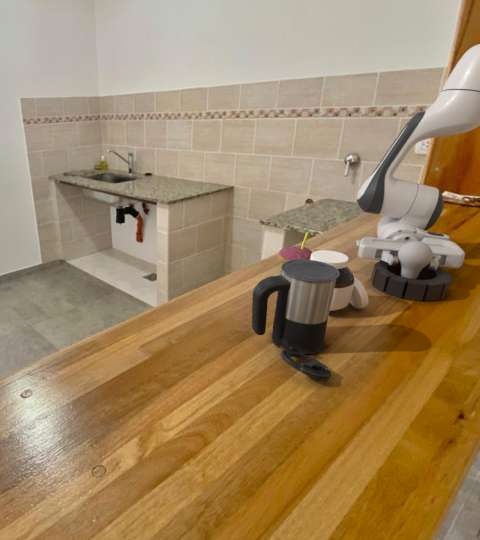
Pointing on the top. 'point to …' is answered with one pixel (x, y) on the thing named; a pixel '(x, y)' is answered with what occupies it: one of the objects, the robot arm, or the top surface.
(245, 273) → the top surface
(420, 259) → the lightbulb
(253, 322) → the milk frother
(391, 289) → the tire
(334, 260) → the spread jar
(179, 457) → the top surface
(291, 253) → the cupcake
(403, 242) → the robot arm
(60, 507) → the top surface
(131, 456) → the top surface
